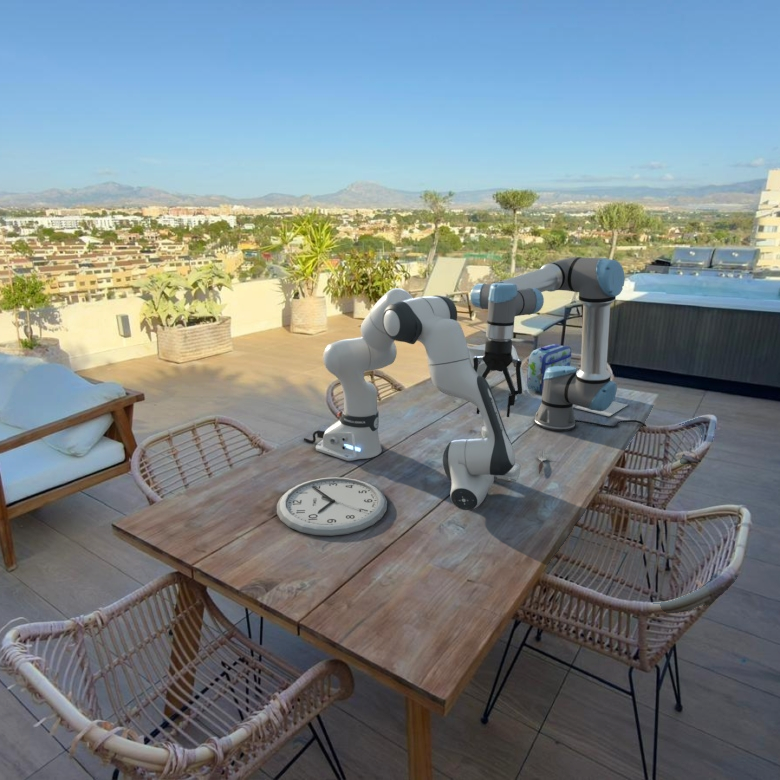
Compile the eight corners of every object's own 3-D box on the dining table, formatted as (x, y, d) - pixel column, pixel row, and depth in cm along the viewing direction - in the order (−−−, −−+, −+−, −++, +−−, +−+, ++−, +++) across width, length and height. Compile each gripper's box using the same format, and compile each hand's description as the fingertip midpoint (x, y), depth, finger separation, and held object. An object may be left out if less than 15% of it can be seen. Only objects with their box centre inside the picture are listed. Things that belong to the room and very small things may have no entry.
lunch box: (543, 396, 238) (548, 352, 231) (522, 391, 245) (526, 347, 239) (570, 385, 255) (575, 343, 249) (550, 381, 262) (555, 340, 256)
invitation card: (608, 416, 214) (573, 407, 224) (608, 416, 214) (573, 408, 224) (628, 404, 229) (594, 396, 238) (628, 405, 229) (594, 397, 238)
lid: (479, 436, 156) (479, 430, 155) (483, 429, 161) (483, 423, 160) (500, 439, 153) (500, 433, 153) (503, 432, 159) (504, 426, 158)
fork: (534, 474, 163) (535, 468, 162) (539, 454, 177) (539, 449, 176) (543, 475, 162) (544, 469, 161) (547, 455, 176) (547, 450, 175)
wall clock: (392, 527, 129) (268, 531, 127) (391, 533, 130) (269, 537, 127) (383, 473, 158) (282, 475, 155) (383, 478, 158) (282, 480, 156)
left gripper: (516, 472, 143) (525, 453, 155) (445, 458, 151) (459, 441, 163) (514, 492, 145) (523, 472, 157) (444, 478, 153) (457, 459, 165)
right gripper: (537, 338, 150) (529, 413, 156) (463, 333, 154) (459, 406, 161) (537, 344, 143) (529, 421, 149) (460, 338, 147) (456, 414, 154)
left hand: (490, 456), depth 160 cm, fingers closed on jar, 5 cm apart
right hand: (493, 413), depth 155 cm, fingers open, 8 cm apart
